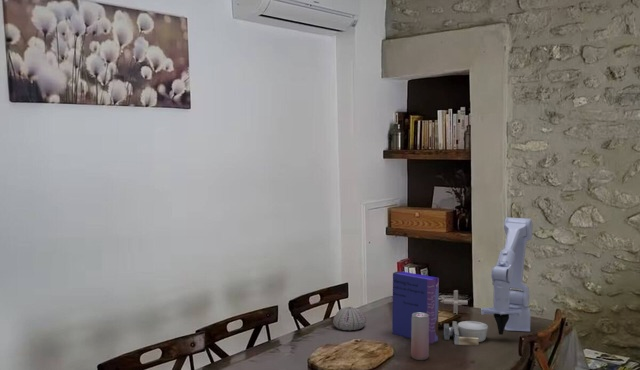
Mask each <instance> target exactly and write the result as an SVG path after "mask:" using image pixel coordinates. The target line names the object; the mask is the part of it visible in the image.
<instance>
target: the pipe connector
mask: <svg viewBox="0 0 640 370" xmlns="http://www.w3.org/2000/svg"><path fill="white" fill-rule="evenodd" d="M443 304H447V305H449V304H450V305H453V312H452V313H456V314H455V315H458V313H459V312H458V311H459V305H467V306H468V300H467V299H466V300H465V299H459V290H458V289H455V290H453V299H443Z"/></svg>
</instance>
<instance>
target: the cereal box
mask: <svg viewBox="0 0 640 370" xmlns="http://www.w3.org/2000/svg"><path fill="white" fill-rule="evenodd" d="M439 282H440V278H439V277H435V276H429V275H424V274H419V273H412V272H406V271H403V270H402V271H399V270H398V271H395V272H393V273H392V318H391V319H392V325H391V327H392V329H391V331H392V332H391V333H392V335H394V336H399V337H402V338H407V339H410V340H411V317H412V314H413V313H417V312H421V313H426V314H428V315H429V345H432V344H434V343H436V342H437V343H438V341H439V297H440V296H439V291H440V290H439V289H440V287H439V285H440V284H439Z"/></svg>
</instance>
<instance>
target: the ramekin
mask: <svg viewBox="0 0 640 370" xmlns="http://www.w3.org/2000/svg"><path fill="white" fill-rule="evenodd" d="M457 325H458V329H459V337H474V338H479V343H482V342H484V341H485V340H486V338H487V334H488V331H489V326H488V324H486V323H485V322H480V321H475V320H474V321H473V320H465V321H460V322H457Z"/></svg>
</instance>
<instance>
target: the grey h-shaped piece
mask: <svg viewBox="0 0 640 370" xmlns="http://www.w3.org/2000/svg"><path fill="white" fill-rule="evenodd" d="M457 325H458V321H456V320H455V321H452V326H450V323H443V340H444V341H449V340H450V337H451V338H453V342H454V345H457V346H460V345H459V337H460V336H459V331H458V326H457Z"/></svg>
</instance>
